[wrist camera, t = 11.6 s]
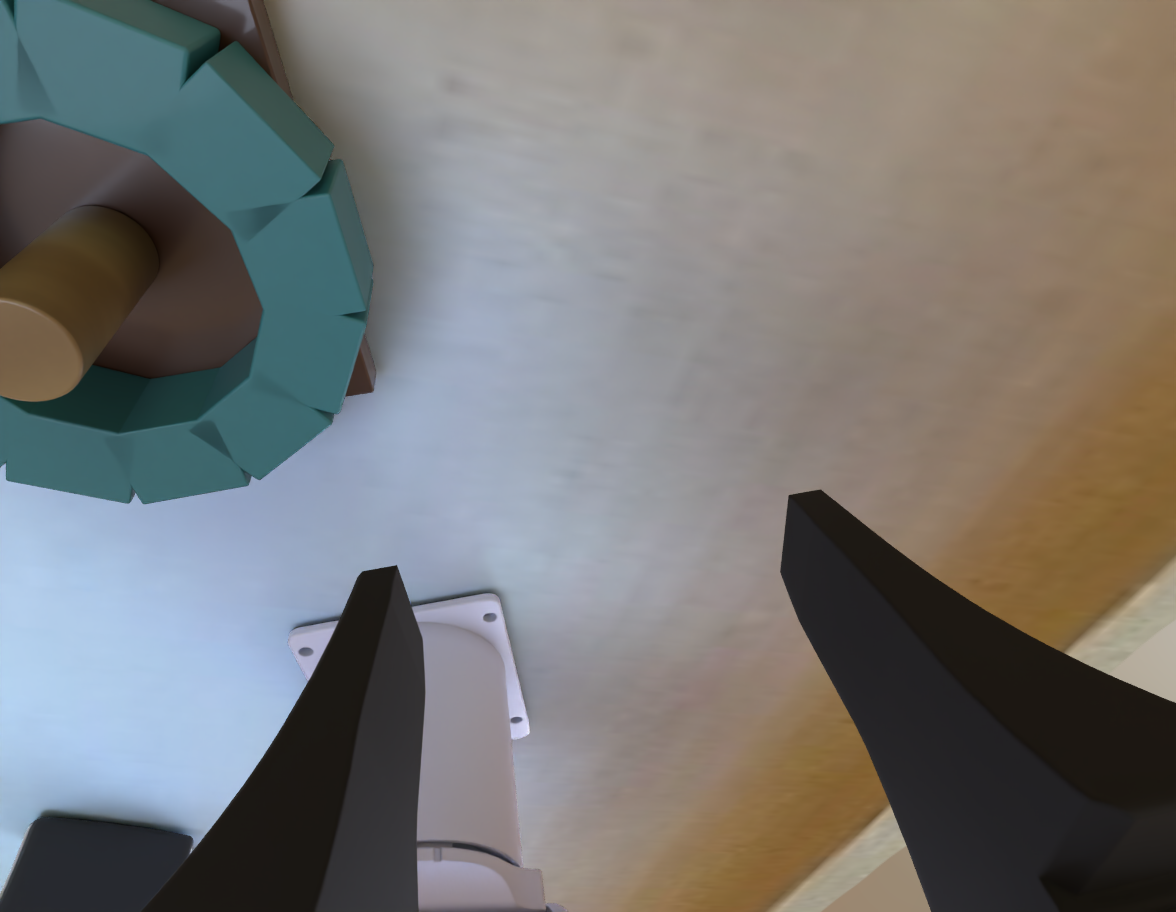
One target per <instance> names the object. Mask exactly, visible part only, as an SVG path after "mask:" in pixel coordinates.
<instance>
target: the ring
mask: <svg viewBox="0 0 1176 912" xmlns="http://www.w3.org/2000/svg"><path fill="white" fill-rule="evenodd" d="M220 37H221V34H220V31H219V30H218V29H217V28H215V27H213V26H211V25H208V24H206V23H203V22H201V21H199V20H196V19H194V18H191V17H189V16H187V15H184V14H182V13H179V12H177V11H175V10H172V9H170V8H167V7H165V6H163V5H160V4H158V3H155V2H153V1H151V0H0V125H1V124H8V123H15V122H22V121H29V120H36V119H43V120H46V121H49V122H52V123H55V124H58V125H60V126H63V127H66V128H69V129H72V130H75V131H78V132H81V133H83V134H86V135H89V136H92V137H95V138H98V139H101V140H104V141H107V142H109V143H112V144H115V145H118V146H121V147H124V148H127V149H130V150H132V151H135V152H138V153H141V154H144V155H147V156H149V157H150V158H151V159H152V160H153V161H154V162H156V163H157V164H158V165H159V166H160V167H161V168H162V169H163V170H164V171H166V172H167V173H168V174H169V175H170V176H171V177H172V178H173V179H175V180H176V181H177V182H178V183H179V184H180V185H181V186H182V187H183V188H185V189H186V190H187V191H188V192H189V193H190V194H191V195H192V196H193V197H195V198H196V199H197V200H198V201H199V202H200V203H201V204H202V205H203V206H205V207H206V208H207V209H208V210H209V211H210V212H211V213H212V214H214V215H215V216H216V217H217V218H218V219H219V220H220V221H221V222H222V223H224V224H225V225H226V226H227V227H228V228H229V229H230V230H231V232H232V234H233V237H234V239H235V242H236V244H237V247H238V249H239V251H240V254H241V256H242V259H243V261H244V264H245V266H246V269H247V271H248V273H249V276H250V278H251V281H252V283H253V286H254V288H255V291H256V293H257V296H258V298H259V300H260V303H261V305H262V308H263V311H262V316H261V320H260V325H259V330H258V334H257V337H256V338H255V339H254V340H252V341H251V342H250V343H249V344H248V345H247V346H245V347H244V348H243V349H242V350H241V351H239V352H238V353H237V354H236V355H235V356H234V357H232V358H231V359H230V360H229V361H228V362H226V363H225V364H224V365H223V366H222V367H220V368H214V369H208V370H202V371H196V372H190V373H184V374H178V375H172V376H166V377H160V378H154V379H148V378H144V377H140V376H136V375H132V374H128V373H124V372H120V371H116V370H112V369H108V368H104V367H100V366H95V365H91V367H90V368H89V370H88V371H87V372H86V374H85V375H84V376H83V378H82V379H81V380H80V382H79V383H78V385H77V386H76V387H75V388H74V389H73V390H71V391H70V392H69V393H67V394H65V395H63V396H61V397H58V398H55V399H52V400H47V401H39V402H29V401H20V400H15V399H10V398H7V397H3V396H1V395H0V467H1V466H2V465H3V464H5V463H6V480H7V481H11V482H16V483H21V484H27V485H32V486H37V487H43V488H48V489H53V490H58V491H64V492H69V493H74V494H80V495H85V496H90V497H95V498H101V499H106V500H111V501H117V502H122V503H130V502H131V501H132V499H133V497H134V495H135V493H136V494H137V496H138V497H139V499H140V500H141V502H142V503H143V504H149V503H154V502H160V501H166V500H171V499H177V498H183V497H188V496H194V495H199V494H205V493H211V492H216V491H222V490H227V489H233V488H239V487H244V486H248V485H249V483H250V479H251V476H253V477H254V478H256V479H258V480H261V479H262V478H263V477H265V476H266V475H267V474H268V473H270V472H271V471H272V470H274V469H275V468H276V467H278V466H279V465H280V464H281V463H283V462H284V461H285V460H287V459H288V458H289V457H290V456H292V455H293V454H294V453H296V452H297V451H298V450H299V449H301V448H302V447H303V446H305V445H306V444H307V443H308V442H310V441H311V440H312V439H314V438H315V437H316V436H317V435H319V434H320V433H321V432H323V431H324V430H325V429H326V428H328V427H329V426H330V425H332V423H333V418H334V414H339V413H340V412H341V409H342V405H343V402H344V399H345V395H346V392H347V389H348V385H349V382H350V379H351V375H352V372H353V369H354V365H355V362H356V359H357V355H358V352H359V349H360V345H361V342H362V339H363V335H364V332H365V329H366V325H367V319H368V313H369V307H370V300H371V294H372V288H373V279H372V272H373V266H374V265H373V262H372V258H371V255H370V251H369V248H368V245H367V241H366V238H365V234H364V231H363V228H362V224H361V221H360V217H359V214H358V211H357V207H356V204H355V200H354V197H353V194H352V190H351V187H350V183H349V180H348V177H347V173H346V170H345V166H344V163H343V161H342V160H341V159H337V160H330V161H329V158H330V156H331V153H332V151H333V148H334V145H333V143H332V142H331V141H330V140H329V139H328V138H327V137H326V136H325V135H324V134H323V133H322V132H321V131H320V129H319V128H318V127H317V126H316V125H315V124H314V123H313V122H312V121H311V120H310V119H309V118H308V117H307V115H306V114H305V113H304V112H303V111H302V110H301V109H300V108H299V107H298V106H297V105H296V104H295V103H294V101H293V100H292V99H291V98H290V97H289V96H288V95H287V94H286V93H285V92H284V91H283V90H282V89H281V88H280V86H279V85H278V84H277V83H276V82H275V81H274V80H273V79H272V78H271V77H270V76H269V75H268V74H267V72H266V71H265V70H264V69H263V68H262V67H261V66H260V65H259V64H258V63H257V62H256V61H255V60H254V58H253V57H252V56H251V55H250V54H249V53H248V52H247V51H246V50H245V49H244V48H243V47H242V46H241V45H240V43H239V42H237V41H234V42H233V43H231V44H230V45H228V46H227V47H226V48H224V49H223V50H221V51H220V52H218V50H219V44H220Z"/></svg>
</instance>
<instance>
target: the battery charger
mask: <svg viewBox="0 0 1176 912" xmlns="http://www.w3.org/2000/svg"><path fill="white" fill-rule="evenodd" d="M192 846H193V838H192V837H191V836H188V835H183V834H178V833H173V832H167V831H162V830H156V829H149V828H142V827H136V826H129V825H122V824H114V823H105V822H95V821H86V820H77V819H63V818H48V817H41V818H38V819H36V820H35V821H34V822H33V823H32V824H30V825H29V827H28V828H27V830H26V833H25V835H24V838H23V841H22V843H21V846H20V848H19V851H18V853H17V855H16V858H15V860H14V863H13V865H12V868H11V870H10V873H9V875H8V877H7V879H6V881H5V884H4V886H3V888H2V891H1V893H0V912H140V911H141V910H142V909H143V908H144V907H145V906H146V905H147V904H148V903H149V901H150V900H151V899H152V898H153V897H154V896H155V895H156V893H157V892H158V891H159V890H160V889H161V887H162V886H163V885H164V884H165V883H166V882H167V880H168V879H169V878H170V877H171V876H172V875H173V873H174V872H175V871H176V870H177V869H178V868H179V866H180V865H181V864H182V863H183V862H184V861H185V859H186V858H187V857H188V856H189V855H190V854H191V851H192Z"/></svg>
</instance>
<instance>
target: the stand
mask: <svg viewBox="0 0 1176 912" xmlns="http://www.w3.org/2000/svg"><path fill="white" fill-rule="evenodd" d="M151 1H153V2H155V3H158V4H160V5H163V6H165V7H167V8H170V9H172V10H175V11H177V12H179V13H182V14H184V15H187V16H189V17H191V18H194V19H196V20H199V21H201V22H203V23H206V24H208V25H211V26H213V27H215V28H217V29H218V30H219V31H220V34H221V37H220V44H219V50H218V52H220V51H221V50H223V49H224V48H226V47H227V46H228V45H230V44H231V43H233V42H234V41H237V42H239V43H240V45H241V46H242V47H243V48H244V49H245V50H246V51H247V52H248V53H249V54H250V55H251V56H252V57H253V58H254V60H255V61H256V62H257V63H258V64H259V65H260V66H261V67H262V68H263V69H264V70H265V71H266V72H267V74H268V75H269V76H270V77H271V78H272V79H273V80H274V81H275V82H276V83H277V84H278V85H279V86H280V88H281V89H282V90H283V91H284V92H285V93H286V94H287V95H288V96H289V97H290V98H291V99H292V100H293V97H292V94H291V91H290V88H289V84H288V81H287V78H286V75H285V71H284V68H283V65H282V61H281V58H280V55H279V52H278V48H277V45H276V42H275V39H274V35H273V32H272V29H271V26H270V22H269V19H268V16H267V12H266V9H265V6H264V3H263V0H151ZM262 311H263V308H262V305H261V303H260V300H259V298H258V296H257V293H256V291H255V288H254V286H253V283H252V281H251V278H250V276H249V273H248V271H247V269H246V266H245V264H244V261H243V259H242V256H241V254H240V251H239V249H238V247H237V244H236V242H235V239H234V237H233V234H232V232H231V230H230V229H229V228H228V227H227V226H226V225H225V224H224V223H222V222H221V221H220V220H219V219H218V218H217V217H216V216H215V215H214V214H212V213H211V212H210V211H209V210H208V209H207V208H206V207H205V206H203V205H202V204H201V203H200V202H199V201H198V200H197V199H196V198H195V197H193V196H192V195H191V194H190V193H189V192H188V191H187V190H186V189H185V188H183V187H182V186H181V185H180V184H179V183H178V182H177V181H176V180H175V179H173V178H172V177H171V176H170V175H169V174H168V173H167V172H166V171H164V170H163V169H162V168H161V167H160V166H159V165H158V164H157V163H156V162H154V161H153V160H152V159H151V158H150V157H149V156H147V155H144V154H141V153H138V152H135V151H132V150H130V149H127V148H124V147H121V146H118V145H115V144H112V143H109V142H107V141H104V140H101V139H98V138H95V137H92V136H89V135H86V134H83V133H81V132H78V131H75V130H72V129H69V128H66V127H63V126H60V125H58V124H55V123H52V122H49V121H46V120H43V119H36V120H29V121H22V122H15V123H8V124H1V125H0V395H1V396H3V397H7V398H10V399H15V400H20V401H29V402H39V401H47V400H52V399H55V398H58V397H61V396H63V395H65V394H67V393H69V392H70V391H71V390H73V389H74V388H75V387H76V386H77V385H78V383H79V382H80V380H81V379H82V378H83V376H84V375H85V374H86V372H87V371H88V370H89V368H90V367H91V365H95V366H100V367H104V368H108V369H112V370H116V371H120V372H124V373H128V374H132V375H136V376H140V377H144V378H148V379H154V378H160V377H166V376H172V375H178V374H184V373H190V372H196V371H202V370H208V369H214V368H220V367H222V366H223V365H224V364H225V363H226V362H228V361H229V360H230V359H231V358H232V357H234V356H235V355H236V354H237V353H238V352H239V351H241V350H242V349H243V348H244V347H245V346H247V345H248V344H249V343H250V342H251V341H252V340H254V339H255V338H256V337H257V334H258V330H259V325H260V320H261V316H262ZM375 377H376V369H375V365H374V362H373V359H372V356H371V352H370V349H369V346H368V342H367V339H366V336H365V333H364V335H363V339H362V342H361V345H360V349H359V352H358V355H357V359H356V362H355V365H354V369H353V372H352V375H351V379H350V382H349V385H348V389H347V392H346V395H345V397H347V396H353V395H359V394H365V393H372V392H373V391H374V385H375Z"/></svg>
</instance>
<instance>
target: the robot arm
mask: <svg viewBox="0 0 1176 912" xmlns="http://www.w3.org/2000/svg"><path fill="white" fill-rule="evenodd" d="M780 572H781V575H782V578H783V581H784V583H785V586H786V589H787V591H788V594H789V597H790V599H791V602H792V604H793V607H794V609H795V612H796V614H797V617H798V619H799V621H800V623H801V625H802V627H803V629H804V631H805V633H806V635H807V637H808V638H809V640H810V642H811V644H812V646H813V648H814V650H815V652H816V653H817V655H818V657H819V659H820V661H821V663H822V664H823V666H824V668H825V670H826V672H827V674H828V675H829V677H830V679H831V681H832V683H833V685H834V686H835V688H836V690H837V692H838V694H839V696H840V697H841V699H842V701H843V703H844V705H845V707H846V708H847V710H848V712H849V714H850V716H851V718H852V719H853V721H854V723H855V725H856V727H857V729H858V731H859V733H860V735H861V737H862V739H863V741H864V743H865V745H866V748H867V750H868V752H869V755H870V757H871V759H872V762H873V764H874V767H875V769H876V771H877V774H878V776H879V778H880V781H881V783H882V786H883V788H884V790H885V793H886V795H887V797H888V800H889V802H890V805H891V807H892V810H893V813H894V815H895V818H896V820H897V823H898V825H899V828H900V830H901V833H902V835H903V838H904V840H905V843H906V845H907V848H908V850H909V853H910V855H911V858H912V861H913V864H914V867H915V869H916V871H917V875H918V877H919V880H920V883H921V885H922V888H923V890H924V893H925V896H926V899H927V901H928V904H929V907H930V910H931V912H1176V703H1175V702H1172V701H1169V700H1167V699H1164V698H1162V697H1159V696H1157V695H1155V694H1152V693H1150V692H1148V691H1145V690H1143V689H1141V688H1138V687H1136V686H1133V685H1131V684H1129V683H1126V682H1124V681H1122V680H1119V679H1117V678H1115V677H1113V676H1110V675H1108V674H1106V673H1104V672H1102V671H1099V670H1097V669H1095V668H1093V667H1091V666H1089V665H1086V664H1084V663H1082V662H1080V661H1078V660H1076V659H1074V658H1072V657H1070V656H1068V655H1066V654H1064V653H1062V652H1060V651H1058V650H1056V649H1054V648H1052V647H1050V646H1048V645H1046V644H1044V643H1042V642H1041V641H1039V640H1037V639H1035V638H1033V637H1031V636H1029V635H1027V634H1026V633H1024V632H1022V631H1020V630H1018V629H1017V628H1015V627H1013V626H1012V625H1010V624H1008V623H1006V622H1005V621H1003V620H1001V619H999V618H998V617H996V616H994V615H993V614H991V613H989V612H987V611H986V610H984V609H982V608H981V607H979V606H978V605H976V604H974V603H973V602H971V601H970V600H968V599H966V598H965V597H963V596H962V595H960V594H959V593H957V592H956V591H954V590H953V589H951V588H950V587H948V586H947V585H945V584H944V583H942V582H941V581H939V580H938V579H936V578H935V577H934V576H932V575H931V574H929V573H928V572H926V571H925V570H924V569H922V568H921V567H919V566H918V565H917V564H915V563H914V562H913V561H911V560H910V559H909V558H907V557H906V556H905V555H903V554H902V553H901V552H899V551H898V550H897V549H895V548H894V547H893V546H891V545H890V544H889V543H887V542H886V541H885V540H884V539H882V538H881V537H880V536H878V535H877V534H876V533H875V532H873V531H872V530H871V529H870V528H868V527H867V526H866V525H864V524H863V523H862V522H861V521H859V520H858V519H857V518H856V517H854V516H853V515H852V514H851V513H849V512H848V511H847V510H846V509H844V508H843V507H842V506H841V505H839V504H838V503H837V502H836V501H834V500H833V499H832V498H831V497H829V496H828V495H827V494H826V493H824V492H823V491H822V490H815V491H809V492H804V493H798V494H793V495H789V498H788V507H787V516H786V525H785V534H784V543H783V552H782V561H781V570H780ZM487 613H492V614H487ZM288 645H289V647H290V649H291V651H292V653H293V655H294V657H295V659H296V660H297V662H298V664H299V666H300V668H301V670H302V672H303V674H304V675H305V677H306V679H307V681H308V683H307V685H306V687H305V688H304V690H303V692H302V693H301V695H300V697H299V699H298V700H297V702H296V704H295V706H294V707H293V709H292V711H291V712H290V714H289V716H288V718H287V719H286V721H285V723H284V725H283V726H282V728H281V729H280V731H279V733H278V734H277V736H276V737H275V739H274V741H273V742H272V744H271V745H270V747H269V748H268V750H267V751H266V753H265V754H264V756H263V757H262V759H261V760H260V762H259V763H258V765H257V766H256V768H255V769H254V771H253V772H252V774H251V775H250V777H249V778H248V779H247V781H246V782H245V784H244V785H243V786H242V788H241V789H240V790H239V792H238V793H237V794H236V796H235V797H234V799H233V800H232V801H231V803H230V804H229V805H228V807H227V808H226V809H225V811H224V812H223V813H222V815H221V816H220V817H219V819H218V820H217V821H216V823H215V824H214V825H213V826H212V828H211V829H210V830H209V832H208V833H207V834H206V835H205V837H204V838H203V839H202V840H201V842H200V843H199V844H198V845H197V847H196V848H195V849H194V850H193V851H192V852H191V854H190V855H189V856H188V857H187V858H186V859H185V861H184V862H183V863H182V864H181V865H180V866H179V868H178V869H177V870H176V871H175V872H174V873H173V875H172V876H171V877H170V878H169V879H168V880H167V882H166V883H165V884H164V885H163V886H162V887H161V889H160V890H159V891H158V892H157V893H156V895H155V896H154V897H153V898H152V899H151V900H150V901H149V903H148V904H147V905H146V906H145V907H144V908H143V909H142V910H141V911H140V912H568V911H567V910H566V909H565V908H564V907H563V906H561V905H559V904H556V903H545V896H544V887H543V878H542V871H541V870H539V869H527V868H523V860H522V849H521V838H520V827H519V816H518V806H517V795H516V784H515V773H514V762H513V751H512V740H513V739H518V738H522V737H525V736H526V735H528V734H529V732H530V724H529V720H528V715H527V711H526V707H525V703H524V699H523V694H522V690H521V686H520V682H519V678H518V673H517V669H516V665H515V661H514V657H513V653H512V648H511V644H510V640H509V636H508V632H507V627H506V623H505V619H504V615H503V611H502V606H501V602H500V599H499V597H498V596H496V595H495V594H491V593H484V594H479V595H473V596H468V597H462V598H457V599H452V600H446V601H441V602H435V603H430V604H424V605H419V606H413V607H411V604H410V601H409V598H408V595H407V592H406V590H405V587H404V584H403V581H402V578H401V575H400V573H399V570H398V567H397V565H396V566H390V567H384V568H379V569H373V570H368V571H362V573H361V574H360V575H359V576H358V578H357V580H356V582H355V585H354V587H353V590H352V592H351V594H350V597H349V599H348V601H347V604H346V606H345V608H344V610H343V613H342V615H341V617H340V619H339V620H337V621H332V622H326V623H321V624H315V625H310V626H305V627H299V628H296V629H293V630H292V631H291V632H290V634H289V637H288ZM304 647H308V648H304Z"/></svg>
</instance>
